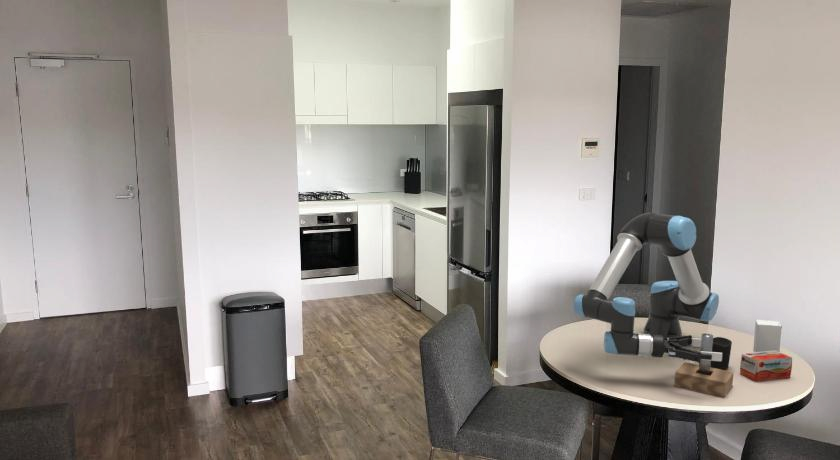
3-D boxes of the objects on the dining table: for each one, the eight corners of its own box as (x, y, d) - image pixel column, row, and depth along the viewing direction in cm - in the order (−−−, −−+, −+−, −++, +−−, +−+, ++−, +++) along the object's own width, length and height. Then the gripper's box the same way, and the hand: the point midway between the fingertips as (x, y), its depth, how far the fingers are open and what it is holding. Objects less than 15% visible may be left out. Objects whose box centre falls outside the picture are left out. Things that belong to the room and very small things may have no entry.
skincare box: (775, 360, 258) (780, 321, 255) (778, 366, 252) (783, 326, 249) (751, 358, 260) (755, 318, 258) (753, 363, 254) (757, 323, 252)
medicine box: (773, 370, 248) (775, 349, 247) (791, 378, 241) (793, 357, 239) (738, 374, 244) (740, 352, 243) (755, 382, 236) (757, 360, 235)
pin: (696, 386, 232) (700, 335, 229) (698, 383, 235) (703, 332, 232) (707, 388, 230) (711, 337, 227) (709, 385, 233) (714, 334, 230)
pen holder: (727, 373, 245) (729, 346, 243) (699, 367, 250) (701, 341, 248) (731, 365, 253) (733, 339, 251) (704, 360, 257) (706, 334, 256)
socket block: (674, 385, 232) (675, 371, 231) (683, 375, 242) (684, 361, 241) (724, 397, 223) (725, 383, 222) (732, 386, 233) (733, 372, 232)
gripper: (644, 344, 246) (707, 348, 242) (655, 369, 222) (725, 374, 218) (646, 324, 245) (709, 328, 241) (657, 346, 221) (727, 351, 217)
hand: (716, 350), depth 230 cm, fingers open, 13 cm apart
